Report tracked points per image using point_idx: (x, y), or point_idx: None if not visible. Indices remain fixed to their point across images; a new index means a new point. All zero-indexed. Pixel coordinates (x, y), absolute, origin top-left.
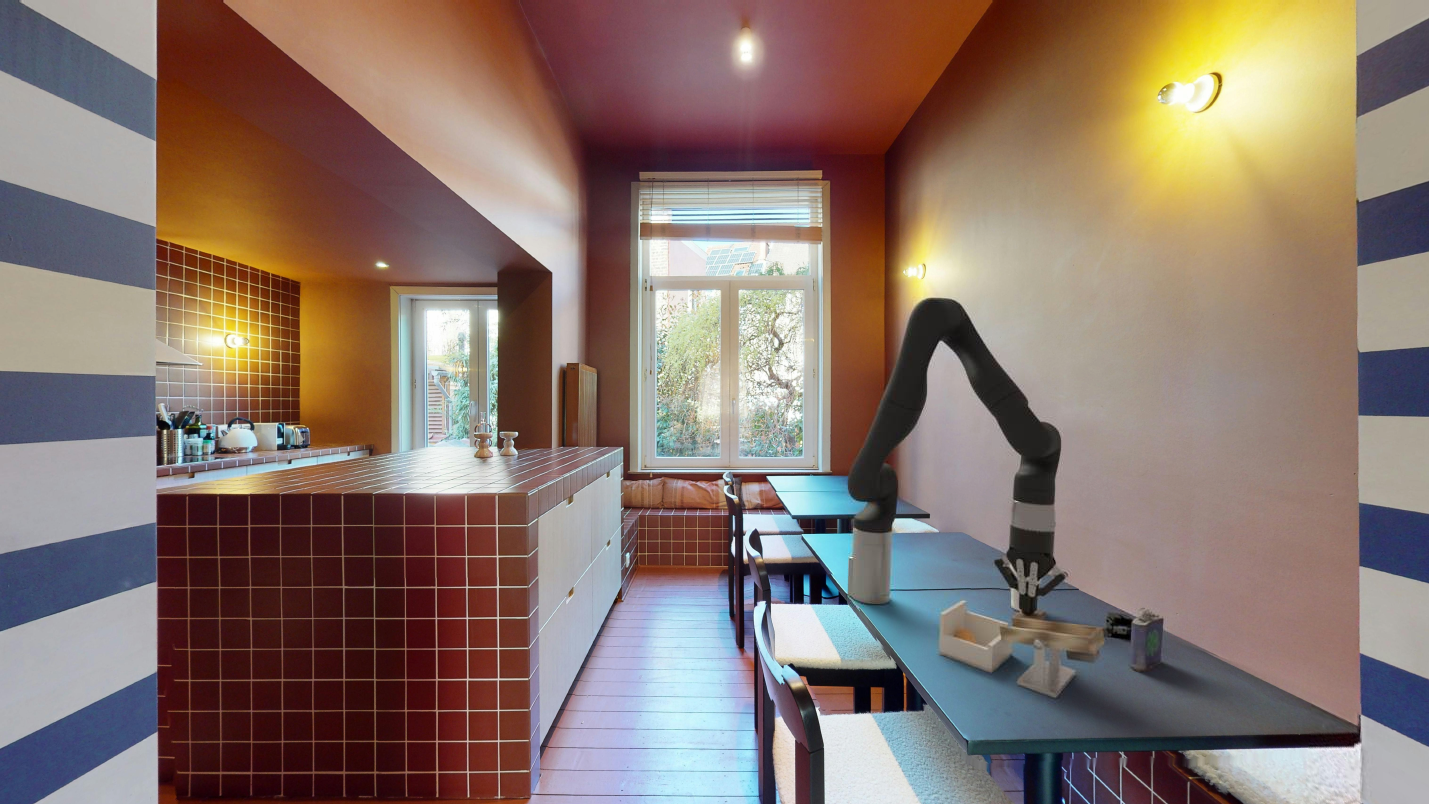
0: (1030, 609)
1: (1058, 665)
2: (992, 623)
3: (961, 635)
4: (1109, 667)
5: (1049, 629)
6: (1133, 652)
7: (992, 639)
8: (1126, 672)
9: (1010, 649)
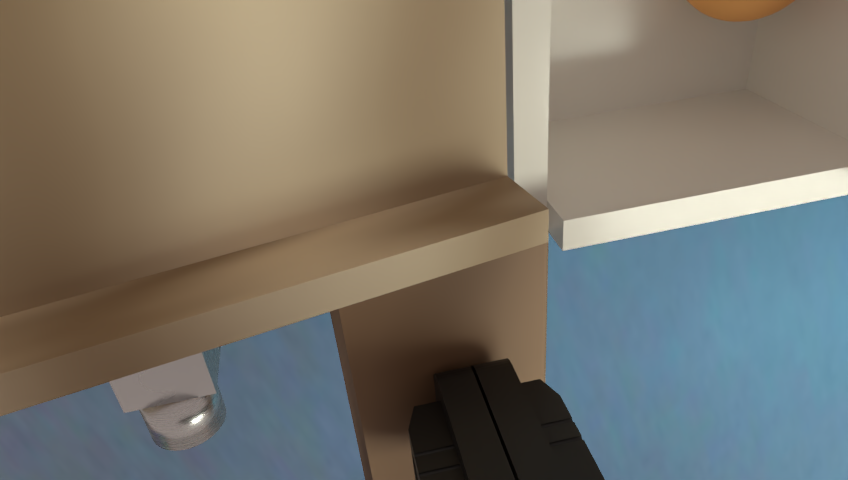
0: (447, 420)
1: None
2: (660, 188)
3: None
4: (83, 453)
5: (167, 274)
6: None
7: (597, 135)
8: (6, 473)
9: None
